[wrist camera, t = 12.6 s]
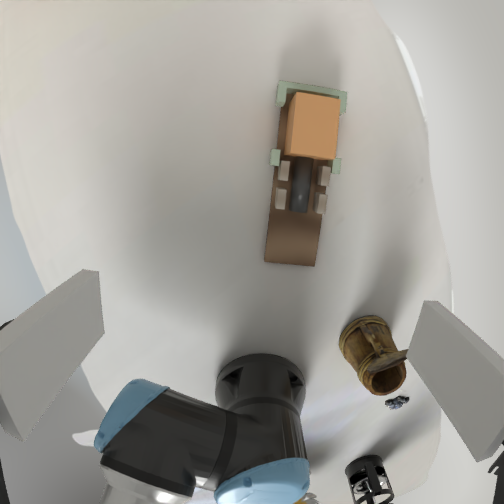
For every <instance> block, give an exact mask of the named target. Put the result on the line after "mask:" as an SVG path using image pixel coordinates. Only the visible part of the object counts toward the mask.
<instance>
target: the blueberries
mask: <svg viewBox="0 0 504 504" xmlns="http://www.w3.org/2000/svg"><path fill="white" fill-rule="evenodd" d="M401 391H402V390H401ZM408 401H409V397H406V398H405V397H401V396H398V397H396V398H395V399H389V400H387V401H385V405H387V407H389V409H390V408H391V409H398V408H400V407H401V406H402V405H403V403H407V402H408ZM391 409H390V410H391Z"/></svg>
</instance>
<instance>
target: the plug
mask: <svg viewBox="0 0 504 504" xmlns="http://www.w3.org/2000/svg"><path fill="white" fill-rule="evenodd" d="M340 101H341V99H336V98H331V97H325V96H319V95H314V94H307V93H301V92H296V94H295V95H294V97H293V98H292V100H291V102H290V103H289V111H288V121H287V130H286V140H285V150H284V155H287V156H295V160H294V169H293V178H292V187H291V196H290V204H289V211H293V212H299V213H307V210H308V203H309V195H310V186H311V178H312V169H313V161H314V159H316V160H332V159H335V155H336V146H337V136H338V125H339V114H340Z"/></svg>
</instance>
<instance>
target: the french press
mask: <svg viewBox="0 0 504 504" xmlns="http://www.w3.org/2000/svg"><path fill="white" fill-rule="evenodd" d="M374 466H375V467H374ZM364 468H365V471H366V473H363V474H355V473H356V472H358V471H360V470H362V469H364ZM345 474H346V475H347V478H348V482H349V485H350V489H351V493H352V497H353V501H354V504H360V503H362V502H363V501H365V500H366V501H367V504H376V501H375V498H374V496H377V495H381V494H391V496H390V497H389V498H387V499H386V500H385V501H383V502H381V503H379V504H388V503H389V502H391V501H392V500H393V498H394V494H393V491H392V488H391V485H390V483H389V480H388V477H387V474H386V472H385V469H384V466H383V464H382V459H381V457H380V456H377V455H369V456H364V457H361V458H359V459H357V460H355V461H353V462H351V463H350V464H349V465H348V466H347V467H346V469H345ZM382 474H384V475H382ZM386 482H387V485H388V488H389V489H382V487H381V486H383V485H384V484H385V483H386ZM352 485H353V487H352ZM354 493H355V494H365V495H364V496H362V497H361V498H359V499H358V500H357V501H356V500H355V497H354ZM389 504H390V503H389ZM391 504H392V503H391Z"/></svg>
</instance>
